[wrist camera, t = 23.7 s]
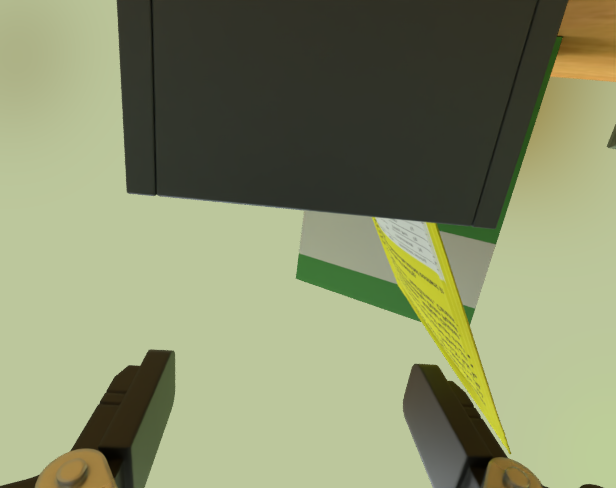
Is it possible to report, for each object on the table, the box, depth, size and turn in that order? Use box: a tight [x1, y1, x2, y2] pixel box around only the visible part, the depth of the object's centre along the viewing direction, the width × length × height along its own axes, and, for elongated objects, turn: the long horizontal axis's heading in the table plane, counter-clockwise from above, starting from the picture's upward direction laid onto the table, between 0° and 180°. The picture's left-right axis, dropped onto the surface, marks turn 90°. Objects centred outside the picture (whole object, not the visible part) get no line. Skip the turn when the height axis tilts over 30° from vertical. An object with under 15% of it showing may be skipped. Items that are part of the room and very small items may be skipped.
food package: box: [372, 217, 511, 454], centre depth 19 cm, size 15×1×20 cm, turn 177°
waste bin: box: [117, 0, 568, 229], centre depth 17 cm, size 10×20×9 cm, turn 175°
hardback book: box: [296, 37, 563, 325], centre depth 35 cm, size 18×7×24 cm, turn 117°
